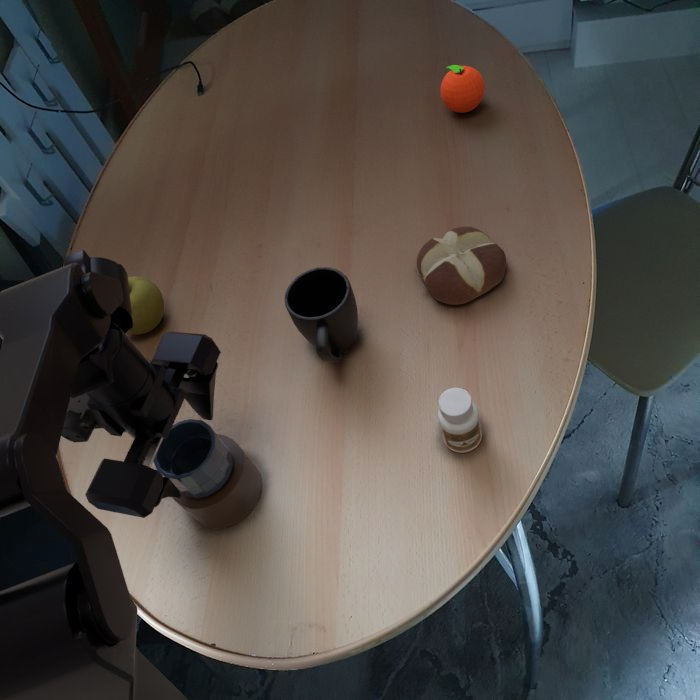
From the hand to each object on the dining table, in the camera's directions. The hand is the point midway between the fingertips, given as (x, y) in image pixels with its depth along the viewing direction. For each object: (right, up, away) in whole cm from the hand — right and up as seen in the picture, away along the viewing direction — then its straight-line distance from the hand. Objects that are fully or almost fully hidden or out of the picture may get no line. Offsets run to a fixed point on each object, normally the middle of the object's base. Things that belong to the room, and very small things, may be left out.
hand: (192, 456), depth 72 cm
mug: (+15, +11, +15) cm, 24 cm away
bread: (+32, +22, +18) cm, 42 cm away
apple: (-13, +15, +27) cm, 33 cm away
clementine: (+35, +51, +38) cm, 72 cm away
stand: (+2, -5, +7) cm, 9 cm away
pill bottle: (+29, +2, +4) cm, 30 cm away
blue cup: (+1, -2, +2) cm, 3 cm away
